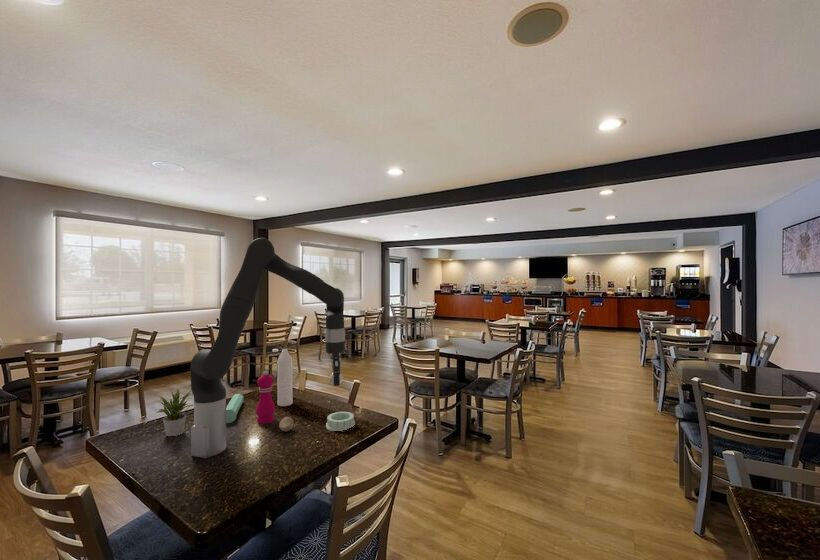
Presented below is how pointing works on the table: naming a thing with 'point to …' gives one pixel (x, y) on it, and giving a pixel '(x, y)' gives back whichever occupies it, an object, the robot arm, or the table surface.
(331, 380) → the steel ball
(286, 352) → the water bottle
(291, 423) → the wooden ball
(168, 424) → the house plant
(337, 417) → the ring cup
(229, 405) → the mint green faceted rod
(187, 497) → the table surface
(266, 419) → the pepper mill
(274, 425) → the table surface
